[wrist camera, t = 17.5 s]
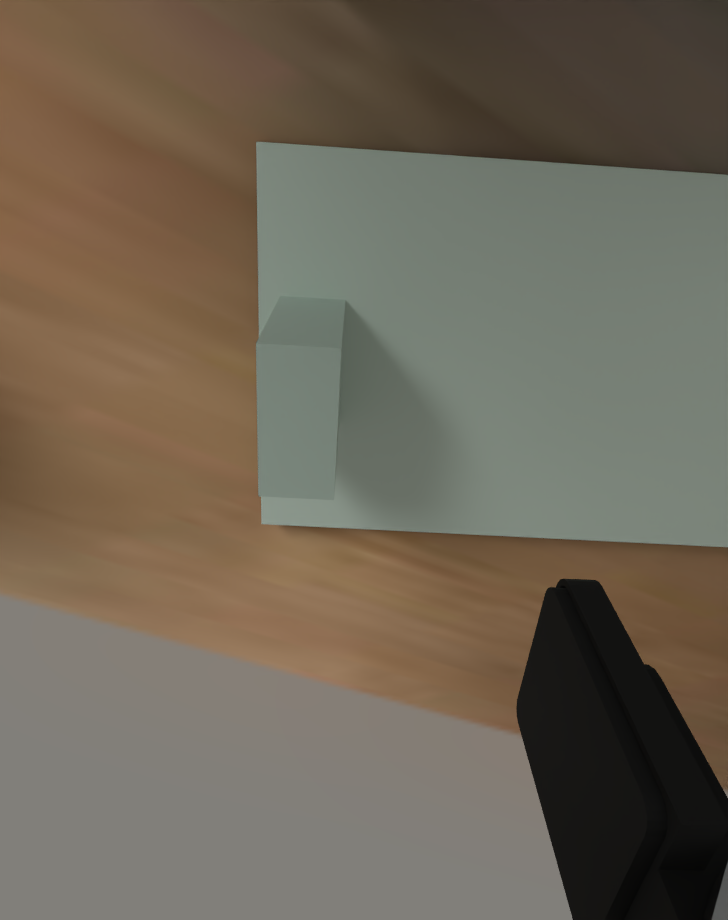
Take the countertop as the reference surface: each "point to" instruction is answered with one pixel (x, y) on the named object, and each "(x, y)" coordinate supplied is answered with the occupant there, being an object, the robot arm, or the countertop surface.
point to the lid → (491, 346)
